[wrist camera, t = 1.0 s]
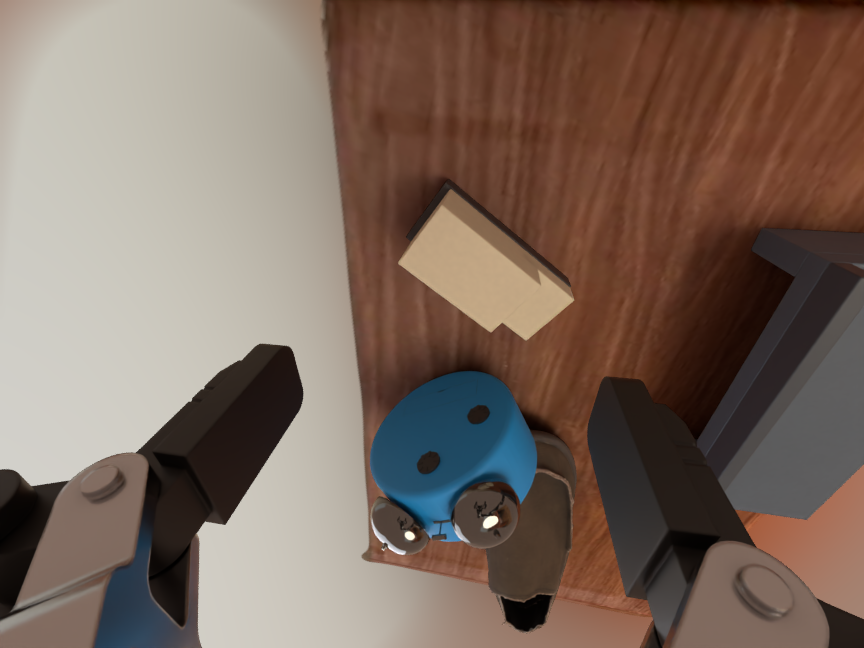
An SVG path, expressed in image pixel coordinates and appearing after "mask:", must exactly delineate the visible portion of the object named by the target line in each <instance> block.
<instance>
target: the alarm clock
mask: <svg viewBox="0 0 864 648" xmlns="http://www.w3.org/2000/svg"><path fill="white" fill-rule="evenodd" d="M370 467H371V472H372V476H373V478H374V480H375V482H376V484H377V485H378V487H379V488H380V489H381V490H382V491H383V493H384V494H385V495H386V496H387V497H388V499H389V500H390V501H389V500H388V499H386V498H383V497H380V496H379V497H378V498H377V499H376V500H375V502H374V504H373V505H372V509H371V516H370V518H371V525H372V528H373V531H374V533H375V535H376V537H377V538H378V539H379V540H380V541H381V542H382V543H383V544H382V545H383V546H382V547H381V548H382V549H383V550H384V551H385V549H386V548H389V549H390V550H392V551H393V552H395V553H398V554H401V555H412V554H416V553H418V552H420V551H421V550H423V549H424V548H425V546H426V545H427V544H428V542H429V540H430V538H432V540H433V541H436V540H440V541H449V542H451V541H463V542H464V543H466V544H467V545H469V546H471V547H474V548H481V549H488V548H493V547H496V546H498V545H500V544H502V543H504V542H505V541H506V540H508V539H509V538H510V537H511V536H512V534H513V533H514V531H515V530H516V528H517V526H518V523H519V520H520V514H521V507H520V504H521V503H522V501H523V500H524V498H525V497H526V495H527V493H528V491H529V489H530V487H531V485H532V482H533V480H534V476H535V472H536V467H537V451H536V445H535V441H534V438H533V436H532V433H531V431H530V429H529V427H528V425H527V423H526V421H525V419H524V417H523V415H522V413H521V411H520V409H519V407H518V405H517V403H516V401H515V399H514V397H513V395H512V393H511V392H510V390H509V389H508V387H507V386H506V385H505V384H504V383H503V382H502V381H501V380H499V379H498V378H496V377H494V376H492V375H490V374H487V373H483V372H478V371H461V372H455V373H451V374H447V375H444V376H441V377H438V378H435V379H433V380H431V381H429V382H427V383H425V384H423V385H422V386H420V387H418V388H417V389H415V390H414V391H412V392H411V393H410V394H408V395H407V396H406V397H405V398H404V399H402V400H401V401H400V402H399V403H398V404H397V405H396V406H395V407H394V408H393V409H392V411H391V412H390V413H389V414H388V416H387V417H386V418H385V420H384V421H383V423H382V424H381V426H380V428H379V429H378V431H377V433H376V436H375V438H374V441H373V444H372V448H371V454H370Z"/></svg>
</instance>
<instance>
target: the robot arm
mask: <svg viewBox="0 0 864 648" xmlns="http://www.w3.org/2000/svg"><path fill="white" fill-rule="evenodd" d="M302 401H303V387H302V383H301V380H300V376H299V373H298V369H297V365H296V361H295V357H294V354H293V351H292V349H291V348H290V347H288V346H281V345H270V344H259V345H257V346H256V347H254V348H253V349H252V351H251V352H250V353H249V354H248V355H247V356H246V357H245V358H244V359H243V360H242V361H237V362H235V363H234V364H232V365H230V366H229V367H227V368H225V369H224V370H222V371H220V372H219V373H218V374H217V375H216V376H215V377H214V378H213V379H212V380H211V381H210V382H209V383H207V384H206V385H205V388H204V390H203V389H202V390H200V391H199V392H198V393H197V394H196V395H195V396H194V397H193V398H192V401H191V402H188V403H187V404H186V405H185V406H184V407H183V408H182V409H181V410H180V411H179V412H178V413H177V414H176V415H175V416H174V417H173V418H172V419H170V420H169V421H168V422H167V423H166V424H165V425H164V426H163V427H162V428H161V429H160V430H159V431H158V432H157V433H156V434H155V435H154V436H153V437H152V438H151V439H150V440H149V441H148V442H147V443H146V444H145V445H144V446H143V447H142V448H141V449H139V450H138V451H137V452H136V453H122V454H117V455H113V456H110V457H107V458H105V459H102V460H100V461H98V462H96V463H94V464H92V465H90V466H89V467H87V468H86V469H84V470H82V471H81V472H80V473H78V474H77V475H76V476H75V477H73V478H72V479H71V480H70V481H64V482H57V483H51V484H44V485H37V486H30V485H29V484H28V483H27V482H26V481H25V480H24V479H23V478H22V477H21V476H20V475H19V474H18V473H17V472H16V471H14V470H8V469H7V470H5V469H4V470H3V469H2V470H0V648H202V647H201V644H200V640H199V635H198V584H199V583H198V582H199V538H198V535H197V532H198V531H199V529H200V528H201V526H202V524H203V523H204V522H205V521H206V522H212V523H217V524H223V525H225V524H226V523H227V521H228V520H229V518H230V517H231V515H232V514H233V512H234V511H235V509H236V507H237V506H238V504H239V503H240V501H241V500H242V498H243V497H244V495H245V494H246V492H247V490H248V489H249V487H250V486H251V484H252V483H253V481H254V480H255V478H256V477H257V475H258V473H259V472H260V470H261V469H262V467H263V466H264V464H265V463H266V461H267V460H268V458H269V456H270V455H271V453H272V452H273V450H274V449H275V447H276V446H277V444H278V443H279V441H280V439H281V438H282V436H283V435H284V433H285V432H286V430H287V429H288V427H289V426H290V424H291V422H292V421H293V419H294V418H295V416H296V415H297V413H298V412H299V410H300V408H301V404H302ZM587 436H588V446H589V450H590V454H591V458H592V462H593V466H594V470H595V474H596V478H597V482H598V486H599V490H600V494H601V498H602V502H603V506H604V510H605V514H606V518H607V522H608V526H609V530H610V534H611V538H612V542H613V546H614V550H615V554H616V558H617V562H618V566H619V570H620V574H621V578H622V582H623V586H624V589H625V593H626V597H632V598H638V599H643V600H648V603H649V607H650V610H651V613H652V617H653V621H652V622H651V624H650V626H649V628H648V630H647V633H646V635H645V637H644V640H643V642H642V644H641V646H640V648H864V619H862V618H860V617H857V616H855V615H852V614H850V613H848V612H845V611H843V610H841V609H839V608H836V607H834V606H832V605H830V604H827V603H825V602H823V601H821V600H819V599H817V598H816V597H815V596H814V594H813V593H812V592H811V590H810V589H809V588H808V587H807V586H806V585H805V583H804V582H803V581H802V580H801V579H800V578H799V577H798V576H797V575H796V574H795V573H794V572H793V571H792V570H790V569H789V568H788V567H787V566H785V565H784V564H783V563H782V562H780V561H779V560H777V559H776V558H774V557H773V556H771V555H770V554H768V553H766V552H764V551H762V550H761V549H758V548H757V547H756V546H755V544H754V543H753V541H752V539H751V538H750V536H749V534H748V532H747V531H746V529H745V527H744V525H743V524H742V522H741V520H740V518H739V517H738V515H737V513H736V511H735V510H734V508H733V506H732V504H731V502H730V501H729V499H728V497H727V495H726V494H725V492H724V490H723V488H722V487H721V485H720V483H719V481H718V480H717V478H716V476H715V474H714V473H713V471H712V469H711V467H710V466H707V460H706V458H705V457H704V455H703V453H702V451H701V450H700V448H697V443H696V441H695V439H694V437H693V436H692V434H691V432H690V430H689V429H688V427H687V425H686V423H685V422H684V421H683V420H682V419H681V418H680V417H678V416H677V415H676V414H675V413H674V412H673V411H672V410H671V409H670V408H669V407H668V406H667V405H666V404H657V403H654V402H653V400H652V398H651V396H650V394H649V392H648V390H647V388H646V386H645V385H644V383H643V382H642V381H641V380H639V379H629V378H618V377H607V376H606V377H604V378H603V380H602V382H601V384H600V388H599V391H598V394H597V397H596V400H595V403H594V407H593V410H592V413H591V416H590V419H589V423H588V435H587Z"/></svg>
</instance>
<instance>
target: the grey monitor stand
mask: <svg viewBox="0 0 864 648" xmlns="http://www.w3.org/2000/svg"><path fill="white" fill-rule="evenodd" d="M751 251H753V252H755V253H756V254H758V255H759V256H761V257H763V258H764V259H766V260H768V261H769V262H771V263H773V264H774V265H776V266H777V267H779V268H781V269H782V270H784V271H786V272H787V273H789V274H791V275H792V276H794V277H795V279H794V280H793V282H792V284H791V285H790V287H789V289H788V290H787V292H786V294H785V295H784V297H783V299H782V300H781V302H780V304H779V305H778V307H777V309H776V310H775V312H774V314H773V315H772V317H771V319H770V320H769V322H768V324H767V325H766V327H765V329H764V330H763V332H762V334H761V335H760V337H759V339H758V340H757V342H756V344H755V345H754V347H753V349H752V350H751V352H750V354H749V355H748V357H747V359H746V360H745V362H744V364H743V365H742V367H741V369H740V370H739V372H738V374H737V375H736V377H735V379H734V380H733V382H732V384H731V385H730V387H729V389H728V390H727V392H726V394H725V395H724V397H723V399H722V400H721V402H720V404H719V405H718V407H717V409H716V410H715V412H714V414H713V415H712V417H711V419H710V420H709V422H708V424H707V425H706V427H705V428H704V430H703V432H702V433H701V435H700V437H699V438H698V439H695V441H696V443H697V448H700V450H701V451H702V453H703V455H704V457H705V458H706V460H707V466H710V467H711V469H712V471H713V473H714V474H715V476H716V478H717V480H718V481H719V483H720V485H721V487H722V488H723V490H724V492H725V494H726V495H727V497H728V499H729V501H730V502H731V504H732V506H733V508H734V509H736V510H742V511H749V512H756V513H763V514H771V515H777V516H784V517H790V518H797V519H804V520H807V519H808V518H809V517H810V516H811V515H812V514H813V513H814V512H815V511H816V510H817V509H818V508H819V507H820V506H821V505H822V504H824V503H825V501H827V499H829V498H830V497H831V496H832V495H833V494H834V493H835V492H836V491H837V490H838V489H839V488H840V487H841V486H842V485H843V484H844V483H845V482H846V481H847V480H848V479H849V478H850V477H851V476H852V475H853V474H854V473H855V472H856V471H857V470H858V469H859V468H860V467H861V466H862V465H864V233H852V232H832V231H813V230H793V229H773V228H762V229H761V231H760V233H759V235H758V237H757V239H756V241H755V243H754V245H753V247H752V249H751Z"/></svg>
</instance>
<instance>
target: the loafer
mask: <svg viewBox="0 0 864 648" xmlns="http://www.w3.org/2000/svg"><path fill="white" fill-rule="evenodd" d="M530 431H531V433H532V436H533V438H534V441H535V445H536V451H537V467H536V472H535V476H534V480H533V482H532V485H531V487H530V489H529V491H528V493H527V495H526V497H525V498H524V500H523V501H522V503H521V504H520V507H521V514H520V520H519V523H518V526H517V528H516V530H515V531H514V533H513V534H512V536H511V537H510V538H509V539H508V540H506V541H505V542H504V543H502V544H500V545H498V546H496V547H493V548H488V549H486V554H487V561H488V569H489V572H488V578H489V583H488V585H489V588H490V590H491V591H492V593H494V594H495V595H496V597H497V599H498V602H499V604H500V607H501V610H502V613H503V616H504V619H505V623H503V624H508V626H510V627H512V628H513V629H515V630H517V631H519V632H522V633H526V634H527V633H530V632H532V631H534V630H536V629H537V628H541V627H542V626H544V625H545V624H546V622H547V619H548V616H549V613H550V609H551V606H552V604H553V602H554V599H555V597H556V594H557V591H558V588H559V585H560V582H561V578H562V576H563V572H564V569H565V566H566V562H567V559H568V555H569V551H571V549H572V528H573V524H572V515H573V512H572V509H573V504H574V497H575V488H576V466H575V462H574V458H573V456H572V454H571V452H570V450H569V448H568V447H567V445H566V444H565V443H564V442H563V441H562V440H561V439H559V438H558V437H556V436H555V435H553V434H550V433H547V432H543V431H536V430H530Z"/></svg>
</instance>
